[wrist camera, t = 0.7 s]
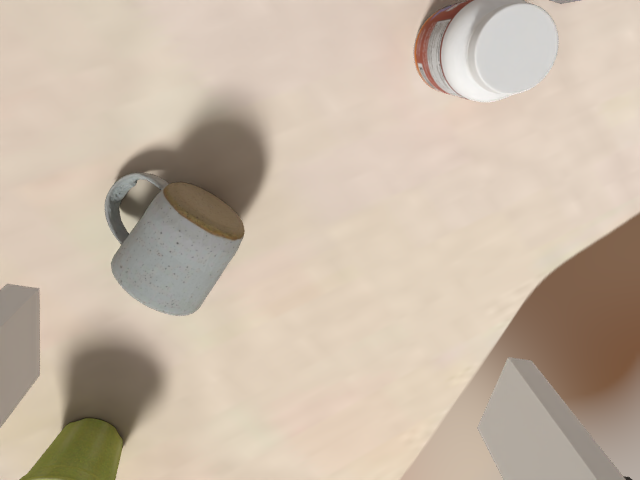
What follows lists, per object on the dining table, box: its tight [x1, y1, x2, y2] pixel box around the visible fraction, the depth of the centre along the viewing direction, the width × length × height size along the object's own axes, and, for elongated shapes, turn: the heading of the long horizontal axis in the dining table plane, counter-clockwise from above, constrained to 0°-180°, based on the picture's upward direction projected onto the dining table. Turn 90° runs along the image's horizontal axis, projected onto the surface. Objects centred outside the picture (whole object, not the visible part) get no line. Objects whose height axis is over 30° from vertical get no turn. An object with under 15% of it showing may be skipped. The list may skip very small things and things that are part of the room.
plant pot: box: [20, 418, 123, 480], centre depth 43 cm, size 9×9×9 cm
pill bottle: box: [414, 0, 558, 102], centre depth 30 cm, size 6×6×11 cm
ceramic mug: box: [105, 173, 244, 316], centre depth 36 cm, size 11×8×8 cm
